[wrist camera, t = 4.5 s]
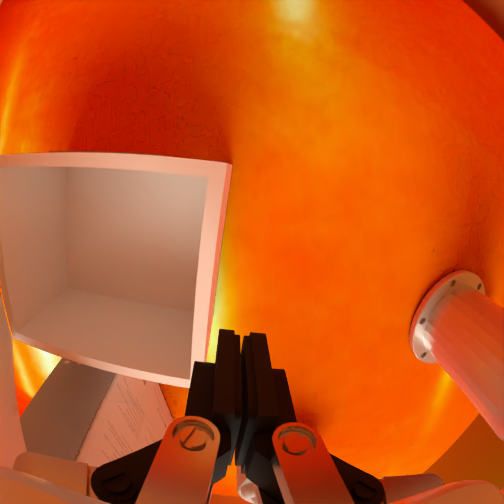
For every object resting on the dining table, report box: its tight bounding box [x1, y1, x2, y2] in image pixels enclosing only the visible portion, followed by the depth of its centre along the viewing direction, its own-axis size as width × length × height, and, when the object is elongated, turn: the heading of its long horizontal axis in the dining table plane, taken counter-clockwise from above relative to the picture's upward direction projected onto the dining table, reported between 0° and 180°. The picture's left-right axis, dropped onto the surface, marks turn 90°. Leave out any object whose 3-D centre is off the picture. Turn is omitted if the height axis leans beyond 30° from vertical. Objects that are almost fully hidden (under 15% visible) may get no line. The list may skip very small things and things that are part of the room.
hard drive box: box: [20, 358, 173, 467], centre depth 19 cm, size 16×8×20 cm, turn 5°
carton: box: [0, 151, 233, 388], centre depth 19 cm, size 16×14×10 cm
